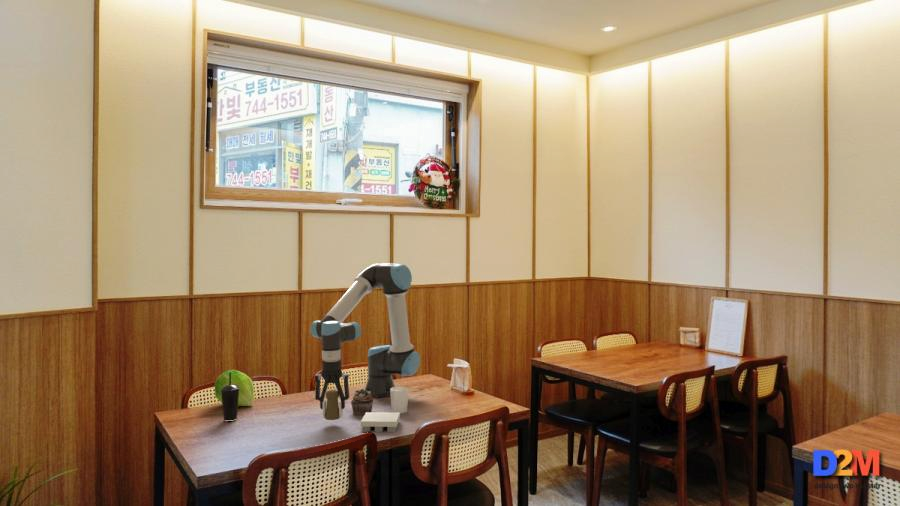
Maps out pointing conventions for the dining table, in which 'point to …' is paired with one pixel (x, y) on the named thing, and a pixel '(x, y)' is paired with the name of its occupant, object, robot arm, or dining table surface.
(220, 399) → the lettuce
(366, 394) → the cupcake
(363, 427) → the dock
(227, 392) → the drinking cup
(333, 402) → the cork
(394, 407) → the white cup
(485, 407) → the dining table surface
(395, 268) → the robot arm
